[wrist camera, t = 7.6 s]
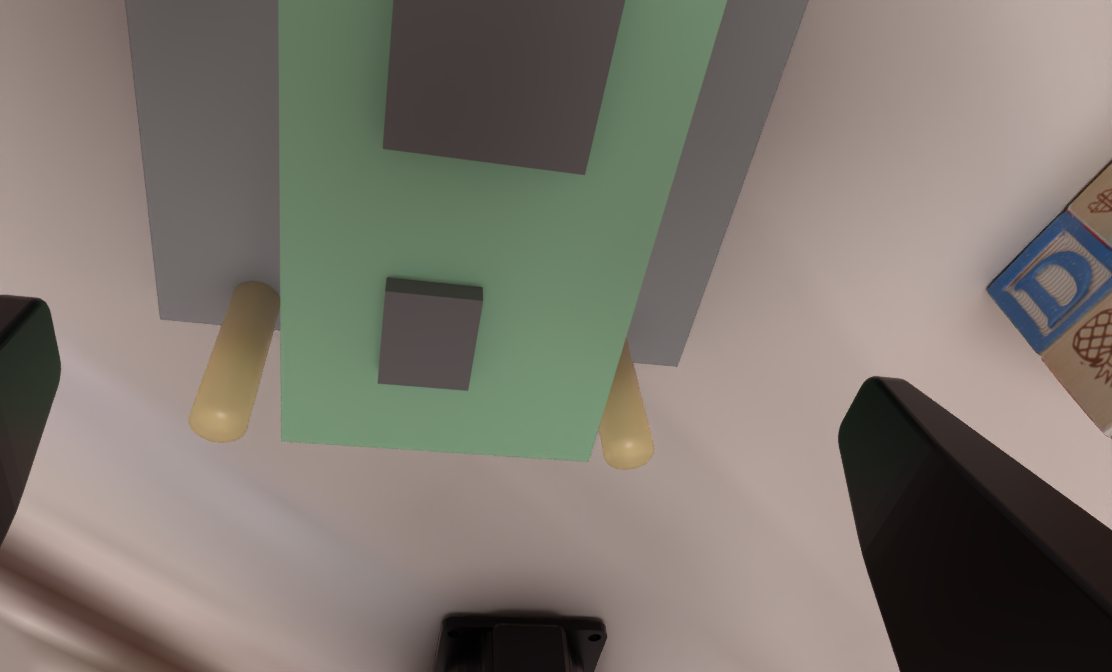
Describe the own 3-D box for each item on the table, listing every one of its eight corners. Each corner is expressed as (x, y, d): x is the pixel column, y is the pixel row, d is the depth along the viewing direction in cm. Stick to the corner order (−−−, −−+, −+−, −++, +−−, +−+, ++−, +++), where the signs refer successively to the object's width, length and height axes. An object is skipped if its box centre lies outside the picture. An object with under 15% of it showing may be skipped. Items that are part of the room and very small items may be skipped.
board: (568, 338, 21) (591, 476, 17) (309, 314, 19) (278, 456, 16) (718, -262, 13) (808, -234, 10) (322, -354, 12) (268, -359, 9)
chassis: (670, 345, 25) (713, 484, 21) (170, 296, 23) (103, 444, 19) (924, -391, 15) (1105, -410, 11) (79, -627, 13) (-113, -773, 8)
